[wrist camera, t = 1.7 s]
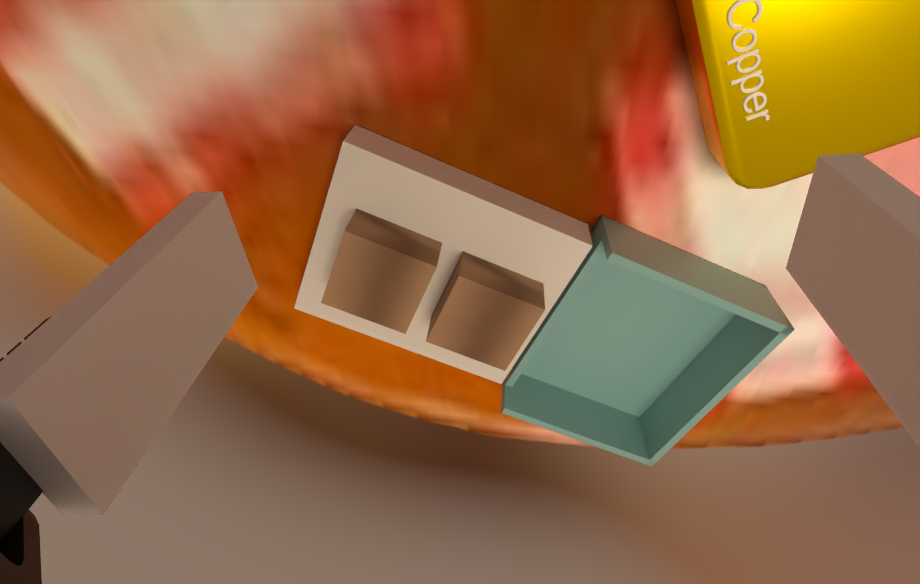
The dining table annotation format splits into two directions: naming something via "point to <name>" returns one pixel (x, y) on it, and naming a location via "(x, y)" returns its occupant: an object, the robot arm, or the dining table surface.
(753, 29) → the element tile
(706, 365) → the tray
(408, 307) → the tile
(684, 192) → the dining table surface
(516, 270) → the board
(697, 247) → the dining table surface
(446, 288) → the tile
